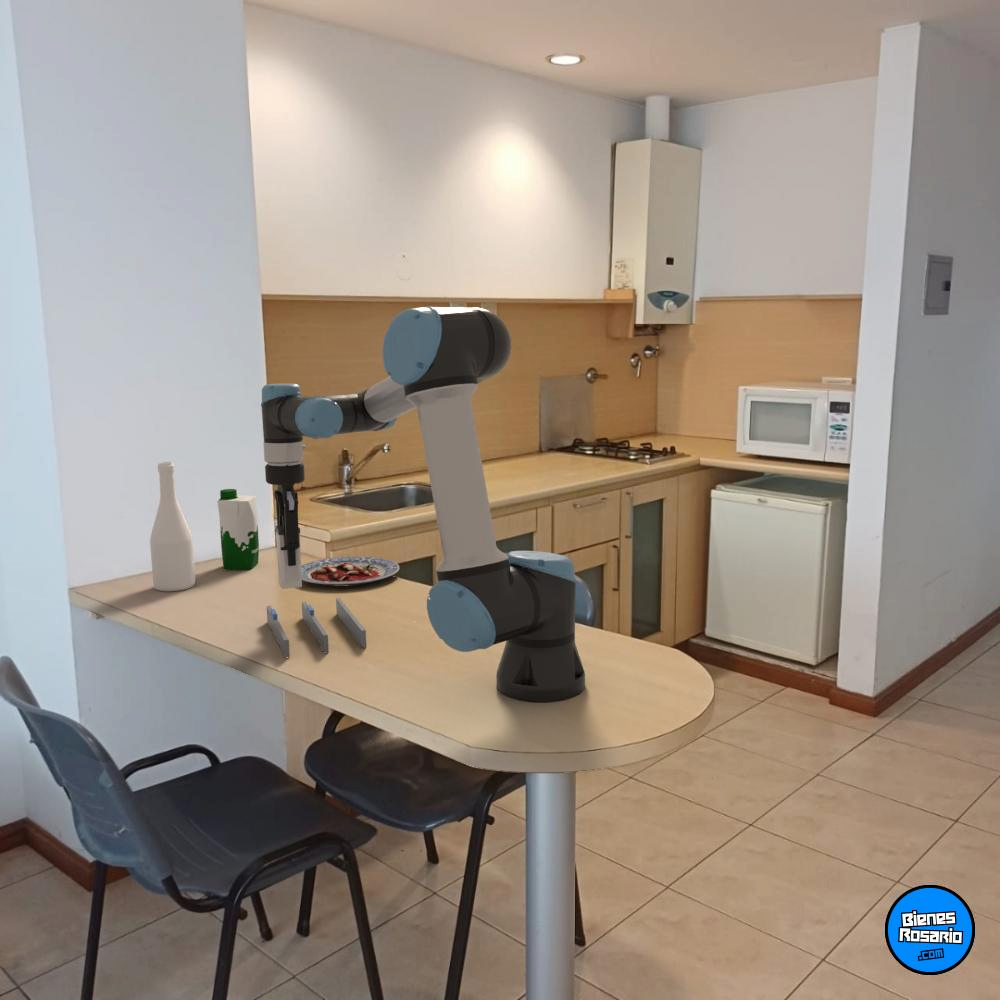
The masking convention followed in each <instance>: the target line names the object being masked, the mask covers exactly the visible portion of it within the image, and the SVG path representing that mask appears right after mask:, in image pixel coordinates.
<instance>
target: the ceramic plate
mask: <svg viewBox="0 0 1000 1000" xmlns="http://www.w3.org/2000/svg"><path fill="white" fill-rule="evenodd" d="M399 571H400V565H399V564H398V563H397V562H395V561H392V560H389V559H385V558H382V557H380V558H379V557H372V556H343V557H342V556H340V557H330V558H324V559H319V560H318V559H317V560H314V561H311V562H307V563H305V564H304V563H303V564H301V573H302V582H306V583H312V584H318V585H321V584H324V585H323V586H328V585H353V586H360V585H359V584H361V585H364V584H370V583H373V582H376V581H380V580H383V579H386V578H387V579H388V577H391V576H394V575H396V574H397V573H399ZM378 574H380V575H378Z"/></svg>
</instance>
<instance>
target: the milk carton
mask: <svg viewBox="0 0 1000 1000" xmlns="http://www.w3.org/2000/svg"><path fill="white" fill-rule="evenodd" d="M219 492H220V493H219V494H220V498H219V499H218V500H217V509H218V517H219V532H220V534H219V535H220V543H221V544H220V545H221V546H220V547H221V559H222V567H223V570H224V571H227V570H228V571H235V570H236V571H241V570H243V571H244V570H245V571H248V570H250V571H251V570H252V569H253V568H255V567H256V566H257V565H258V564H259V556H260V553H259V551H260V542H259V540H260V539H259V526H258V525H259V524H258V522H259V521H258V507H257V496H256V495H246V494H244V495H243V494H242V495H238V494H237V489H236V488H235V489H234V488H226V489H225V488H224V489H221V490H220V491H219Z"/></svg>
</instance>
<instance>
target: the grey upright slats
mask: <svg viewBox="0 0 1000 1000" xmlns="http://www.w3.org/2000/svg"><path fill="white" fill-rule="evenodd" d="M335 606H336V607H335V609H336V615H337V616H338V618H339V617H340V618H339V619H340V620H341V621H343V622H342V623H343V625H344V626H345V627H346V628H347V629H348V632H349V633H350V634H351V635H352V636H353V638H354V640H356V642H357V644H359V646H360V645H361V646H360V647H361V648H362V649H364V648H363V647H366V648H367V630H366V628H365V627H364V626H363V625H362V623H360V621H359V620H358V619H357V617H356V616H355V615H354V613H353V612H352V611H351V610H350V608H348V606H347V605H346V603H345V602H344V601H343V600H342V599H341V597H336V598H335ZM301 612H302V613H301V615H302V617H303V618H302V617H301V618H302V620H303V619H304V620H305V621H304V620H303V621H304V623H305V622H306V623H305V625H306V624H307V625H308V626H307V625H306V626H307V628H308V627H309V628H310V629H309V628H308V629H309V631H310V630H311V631H312V633H313V634H312V633H311V634H312V636H313V635H314V636H315V637H314V636H313V637H314V639H315V638H316V639H317V641H318V642H317V641H316V642H317V644H318V643H319V644H320V645H319V644H318V645H319V647H320V646H321V647H322V649H323V650H322V649H321V650H322V652H323V651H324V652H329V635H328V632H327V631H326V630H325V628H324V627H323V626H322V624H321V623H320V621H319V620H318V618H317V616H316V615H315V610H314V608H313V606H312V605H311V604H308V603H307V601H301ZM266 621H267V624H268V626H269V625H270V626H269V628H270V627H271V628H270V630H271V629H272V630H271V632H272V631H273V632H272V634H273V633H274V634H273V636H274V635H275V636H274V638H275V637H276V638H275V640H276V639H277V640H276V642H277V641H278V642H277V644H278V643H279V644H278V646H279V645H280V646H279V648H281V649H280V650H282V651H281V652H283V653H282V654H284V655H283V657H284V656H285V657H290V654H291V653H290V640H289V638H288V636H287V634H286V632H285V630H284V628H283V627H282V625H281V623H280V620H279V619H278V613H277V610H276V609H275V608H272V605H266ZM311 631H310V632H311ZM316 639H315V640H316ZM321 647H320V648H321ZM324 652H323V653H324ZM285 657H284V658H285Z"/></svg>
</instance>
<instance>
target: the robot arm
mask: <svg viewBox="0 0 1000 1000" xmlns="http://www.w3.org/2000/svg"><path fill="white" fill-rule="evenodd" d="M511 352H512V338H511V334H510V331H509V329H508V326H507V325H506V323H505V322H504V321H503V320H502V319H501V318H500V317H499V316H498V315H497V314H495V313H493V312H492V311H491V310H488V309H485V308H480V307H448V306H447V307H446V306H445V307H444V306H441V307H440V306H428V305H427V306H423V307H415V308H408V309H404V310H402V311H401V312H399V313H397V315H395V316H394V318H393V319H392V320H391V322H390V323H389V325H388V329H387V330H386V332H385V335H384V339H383V344H382V360H383V365H384V366H383V367H384V369H385V372H386V374H387V375H388V376H387V377H386V378H383V379H381V381H379V382H377V383H375V384H374V385H372V386H371V387H369V388H366V389H365V390H363V391H362V392H358V393H357V392H356V393H348V394H347V393H345V394H344V393H343V394H335V395H334V394H333V395H332V394H331V395H320V396H319V395H318V396H307V395H306V396H305V395H303V394H302V391H301V387H300V385H298V383H297V384H296V383H269V384H265V385H264V386H263V387H262V388H261V403H260V407H261V419H262V420H261V421H262V435H263V436H262V437H263V441H262V442H263V455H264V456H263V459H264V460H263V461H264V462H265V463H266V465H265V466H264V470H265V471H264V472H265V474H264V475H265V482H266V484H269V485H272V486H273V485H274V486H277V489H275V490H274V492H273V493H274V499H275V509H276V526H283V535H284V547H281V550H283V554H284V574H285V582H289V581H299V567H298V548H299V546H300V547H301V543H300V544H299V528H300V527H299V497H298V495H299V494H298V492H297V491H296V490H295V487H294V485H295V484H302V483H303V482H304V481H305V479H306V477H305V464H304V463H303V462H302V461H303V460H304V451H303V450H306V448H307V446H306V444H303V443H304V442H303V440H304V439H303V437H306V438H311V439H313V440H318V439H329V438H330V439H331V438H332V437H333V436H335V435H336V436H337V435H342V434H344V435H345V434H352V433H353V434H354V433H362V432H379V431H382V430H387V429H390V428H391V427H393V426H394V425H395V422H396V421H397V420H398V418H399V417H401V416H403V415H405V414H407V413H409V412H411V411H413V410H415V409H417V414H418V419H419V420H418V421H419V425H420V432H421V437H422V442H423V448H424V454H425V461H426V465H427V471H428V477H429V482H430V487H431V493H432V500H433V505H434V510H435V511H434V512H435V516H436V522H437V527H438V534H439V539H440V545H441V551H442V555H443V556H442V560H440V562H439V563H438V565H437V567H436V568H435V571H436V577H437V582H436V583H435V584H434V585H433V586H431V588H430V589H429V591H428V595H429V596H427V597H426V611H427V615H428V619H429V622H430V625H431V627H432V628H433V631H434V632H435V634H436V635H437V636H438V638H439V639H441V640H442V641H443V643H444V644H445V645H446V646H447V647H449V648H451V649H453V650H455V651H458V652H463V653H468V652H469V653H470V652H474V651H477V650H486V649H488V648H490V647H492V646H495V645H497V644H501V643H503V642H505V644H504V648H503V651H502V654H501V658H500V660H499V663H498V666H497V670H496V689H498V691H499V692H500V693H502V694H504V695H505V696H506V697H507V696H508V697H510V698H513V699H517V700H521V701H529V702H555V701H561V700H567V699H569V698H573V697H575V696H577V695H579V694H580V693H582V692H583V691H584V689H585V687H586V673H585V669H584V666H583V664H582V663H583V662H582V659H581V657H580V654H579V651H578V649H577V645H576V632H575V631H576V584H577V580H576V571H575V568H576V567H575V565H574V562H573V561H572V559H570V558H569V557H567V556H565V555H563V554H557V553H553V552H546V551H540V550H539V551H537V550H514V551H512V550H511V551H509V552H507V553H506V554H505V552H503V551H501V550H500V549H499V548H498V546H497V542H496V537H495V530H494V525H493V524H494V523H493V518H492V513H491V509H490V508H491V507H490V501H489V496H488V490H487V483H486V479H485V473H484V469H483V461H482V456H481V450H480V445H479V438H478V434H477V428H476V422H475V416H474V410H473V404H472V397H473V395H474V394H475V393H476V391H477V390H478V388H479V383H482V382H483V381H486V380H488V379H489V378H491V377H494V376H495V375H497V374H498V373H500V372H501V371H502V370H503V368H505V366H506V365H507V363H508V361H509V358H510V356H511V354H512V353H511ZM298 527H299V528H298Z"/></svg>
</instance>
